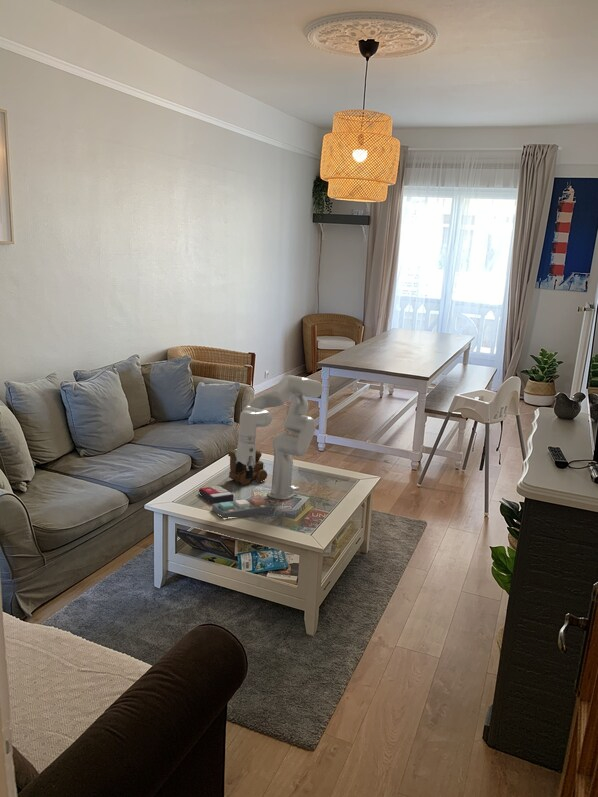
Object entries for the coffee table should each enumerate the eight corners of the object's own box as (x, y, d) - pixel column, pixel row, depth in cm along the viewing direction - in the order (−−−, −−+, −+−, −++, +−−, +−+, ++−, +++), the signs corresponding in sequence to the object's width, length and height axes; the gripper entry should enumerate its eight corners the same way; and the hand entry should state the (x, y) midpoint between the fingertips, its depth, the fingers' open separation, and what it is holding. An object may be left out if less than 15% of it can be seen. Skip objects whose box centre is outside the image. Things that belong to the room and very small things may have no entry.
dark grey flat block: (258, 503, 292) (258, 497, 291) (271, 512, 282) (271, 505, 282) (212, 510, 279) (212, 503, 278) (223, 519, 269) (224, 512, 268)
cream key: (244, 504, 284) (244, 499, 283) (249, 508, 279) (249, 503, 279) (234, 505, 281) (235, 500, 280) (239, 509, 277) (240, 504, 276)
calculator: (218, 484, 303) (234, 493, 291) (218, 493, 304) (233, 501, 292) (198, 487, 297) (213, 496, 285) (198, 496, 298) (212, 505, 286)
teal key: (228, 506, 279) (229, 501, 279) (233, 510, 275) (234, 505, 275) (218, 508, 276) (219, 502, 276) (223, 512, 272) (224, 506, 272)
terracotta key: (259, 502, 288) (259, 497, 287) (264, 506, 284) (265, 500, 283) (250, 503, 285) (250, 498, 285) (255, 507, 281) (255, 502, 281)
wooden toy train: (237, 487, 312) (239, 455, 309) (225, 480, 320) (227, 449, 317) (269, 481, 325) (271, 451, 322) (256, 475, 333) (258, 445, 330)
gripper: (263, 443, 269) (260, 480, 272) (245, 433, 284) (242, 469, 286) (248, 443, 265) (245, 482, 268) (230, 434, 279) (227, 470, 282)
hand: (243, 475), depth 277 cm, fingers open, 9 cm apart
